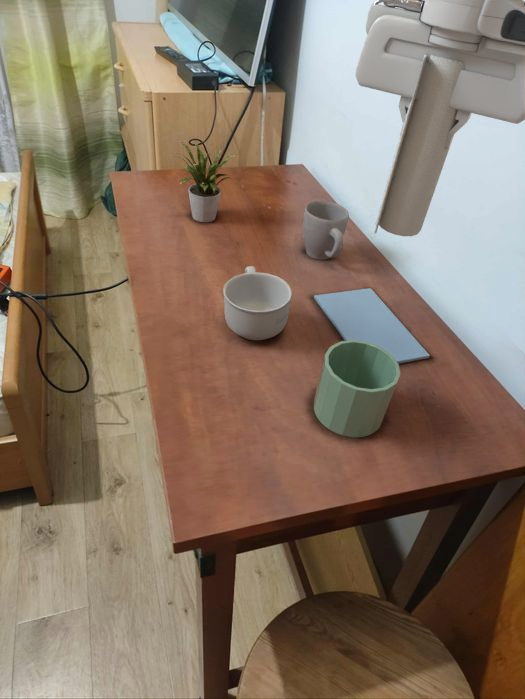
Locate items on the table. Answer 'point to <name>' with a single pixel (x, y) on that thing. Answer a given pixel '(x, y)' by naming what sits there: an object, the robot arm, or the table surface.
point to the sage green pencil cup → (355, 388)
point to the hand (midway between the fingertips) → (424, 142)
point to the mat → (370, 323)
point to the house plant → (204, 185)
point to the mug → (324, 229)
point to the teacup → (256, 304)
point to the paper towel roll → (420, 151)
